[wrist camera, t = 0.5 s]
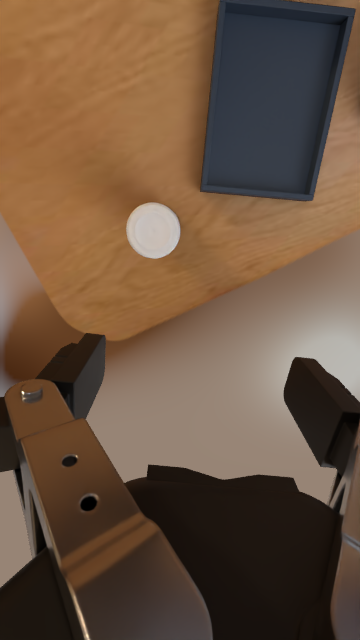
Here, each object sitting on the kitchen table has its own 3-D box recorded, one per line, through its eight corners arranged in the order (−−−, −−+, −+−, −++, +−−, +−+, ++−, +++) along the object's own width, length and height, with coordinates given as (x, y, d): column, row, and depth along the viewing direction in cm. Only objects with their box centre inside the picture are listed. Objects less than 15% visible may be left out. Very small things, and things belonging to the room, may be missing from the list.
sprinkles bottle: (181, 209, 35) (183, 205, 23) (178, 246, 37) (177, 261, 24) (145, 205, 35) (126, 198, 23) (143, 242, 37) (124, 256, 24)
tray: (218, 7, 29) (220, -8, 27) (344, 21, 29) (356, 8, 27) (199, 191, 35) (201, 190, 33) (305, 201, 35) (312, 200, 33)
